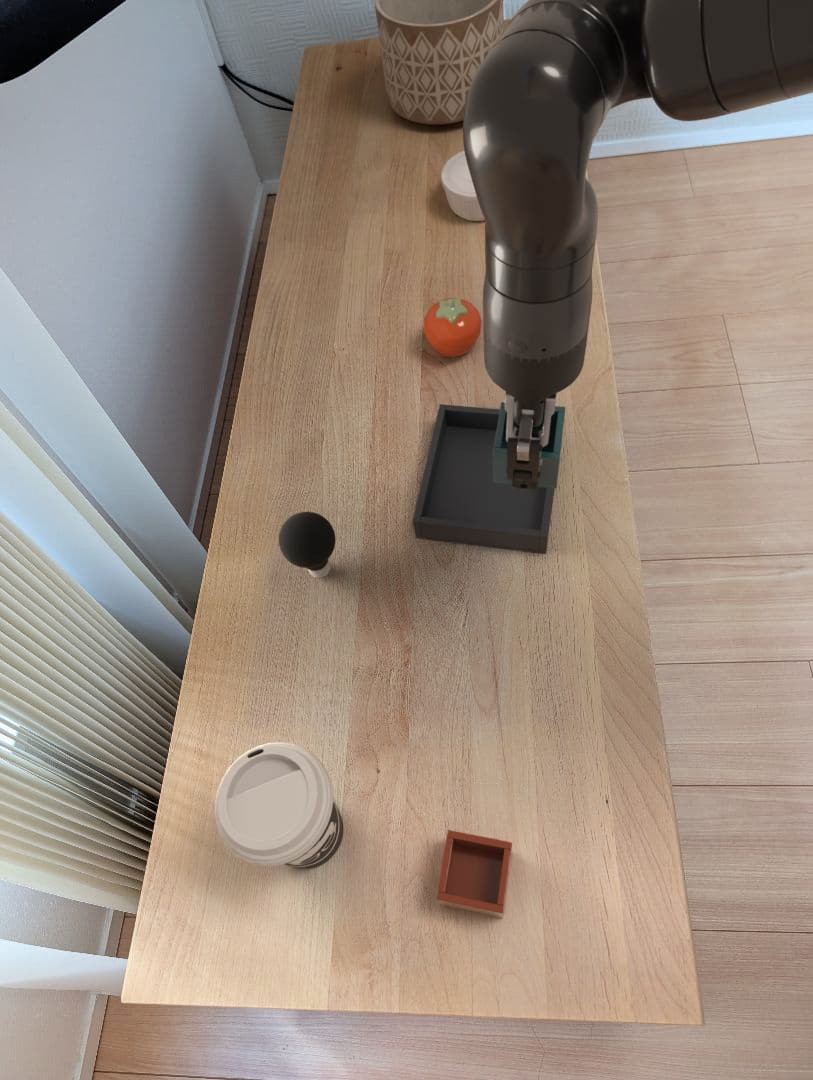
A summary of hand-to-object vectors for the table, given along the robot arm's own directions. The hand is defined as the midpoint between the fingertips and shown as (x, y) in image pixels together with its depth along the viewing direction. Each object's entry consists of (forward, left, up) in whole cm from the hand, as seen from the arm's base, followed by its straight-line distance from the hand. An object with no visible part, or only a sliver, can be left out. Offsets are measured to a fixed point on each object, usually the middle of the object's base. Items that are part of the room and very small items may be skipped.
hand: (528, 456), depth 70 cm
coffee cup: (+16, +33, -18) cm, 40 cm away
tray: (+5, -8, -18) cm, 20 cm away
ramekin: (+14, -58, -18) cm, 63 cm away
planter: (+24, -84, -18) cm, 90 cm away
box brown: (0, +34, -18) cm, 38 cm away
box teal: (0, 0, -1) cm, 1 cm away
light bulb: (+22, +6, -18) cm, 29 cm away
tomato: (+13, -29, -18) cm, 37 cm away
